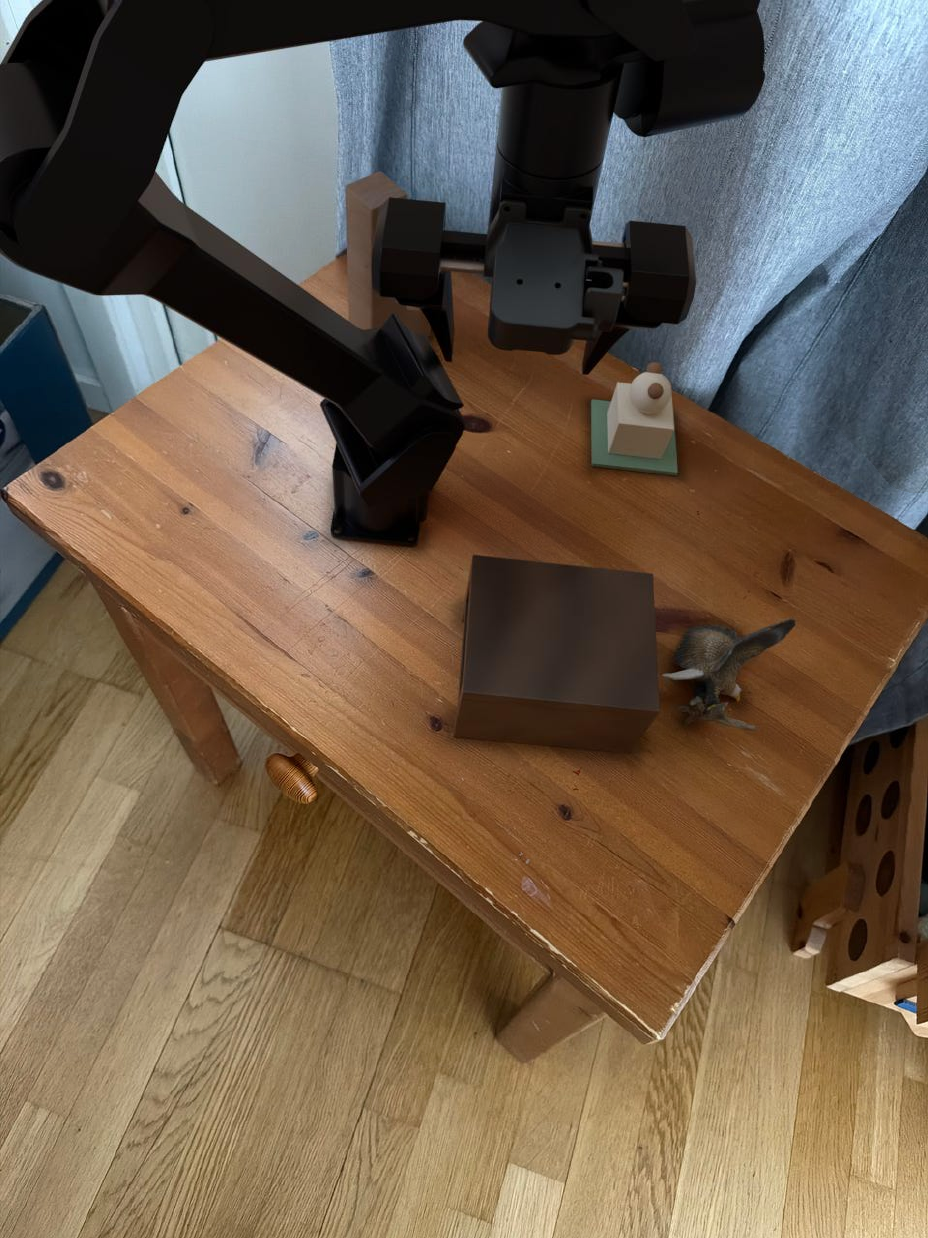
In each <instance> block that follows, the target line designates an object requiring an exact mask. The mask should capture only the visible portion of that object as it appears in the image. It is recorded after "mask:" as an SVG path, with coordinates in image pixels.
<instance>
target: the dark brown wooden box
mask: <svg viewBox="0 0 928 1238" xmlns="http://www.w3.org/2000/svg"><path fill="white" fill-rule="evenodd" d="M468 573H469V574H468V579H467V584H466V590H465V595H464V596H465V597H464V600H463V605H462V617H461V623H463V625H462V627H463V628H462V637H461V638H462V640H461V652H460V654H461V655H460V666H459V667H460V668H459V679H458V691H457V692H458V694H457V708H456V713H455V717H454V721H453V723H454V724H453V735H452V736H453V737H454V738H463V739H474V740H484V741H494V742H505V743H506V742H507V743H516V744H526V745H535V746H536V745H537V746H548V747H555V748H556V747H557V748H566V749H567V748H568V749H579V750H588V751H598V752H608V753H609V752H610V753H620V754H632V752H633V751H634V749H635V748H636V747H637V745H638V744H639V742H640V741H641V740H642V738H643V737H644V735H645V734H646V732H647V731H648V729H649V728H650V726H651V725H652V724H653V722H654V721H655V719H656V718H657V716H658V715H659V714H660V712H661V706H660V705H661V704H660V683H659V667H658V666H659V665H658V645H657V626H656V625H657V624H656V607H655V606H656V605H655V585H654V574H653V573H650V572H641V571H631V570H623V569H622V570H621V569H614V568H604V567H595V566H584V565H574V564H573V565H572V564H567V563H565V564H564V563H556V562H546V561H537V560H528V559H519V558H508V557H501V556H500V557H499V556H491V555H483V554H482V555H480V554H472V557H471V562H470V568H469V572H468Z"/></svg>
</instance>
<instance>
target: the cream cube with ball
mask: <svg viewBox="0 0 928 1238" xmlns="http://www.w3.org/2000/svg"><path fill="white" fill-rule="evenodd" d="M645 369H646V371H645V372H642V373H640V374H639V375H637V376H636V377H635V378H634V379H633V381H632V382H631V383H629V382H617V383H616V386H615V388H614V391H613V394H612V398H611V403H610V406H609V409H608V412H607V425H608V453H611V454H620V455H629V456H638V457H647V458H656V459H661V458H662V456H663V454H664V451H665V449H666V447H667V444H668V442H669V440H670V438H671V435H672V433H673V431H674V428H675V421H674V422H673V414H674V408H673V397H672V386H671V383H670V381H669V380H668V378H667V377H666V376H665V375H664V374H662V373H663V366H662V364H661V363H659V362H657V361H652V362H650V363H648V365H647V366H646V368H645Z"/></svg>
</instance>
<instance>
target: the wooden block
mask: <svg viewBox="0 0 928 1238" xmlns="http://www.w3.org/2000/svg"><path fill="white" fill-rule="evenodd" d="M344 193H345V225H346V255H347V256H346V260H347V262H346V263H347V264H346V265H347V304H348V305H347V307H348V308H347V309H348V321H349V322H350V323H352V324H353V325H355V326H356V327H358V328H360V329H362V330H365V329H374V328H381V327H382V326H383V325H384V323H385V322H386V321H387V320H388V318H389V317H390V316H391V315H392V314H396V315H397V316H398V317H399V319H400V320H401V321H402V322H403V324H404V325H405V326H406V327H407V328H408V329H410V330H411V331H413V332H415V333H419V334H424V335H426V336H427V338H429V337H430V336H431V335H432V328H431V326H430V324H429V322H428V320H427V319H426V317H425V315H424V314H423V312H422V311H421V309H419V308H416V307H412V306H403V305H400V304H399V303H398V302H397V301H396V300H395V298H392V297H381V296H379V295H378V294H377V293H376V292H375V291H374V290H373V289H372V274H371V262H372V249H373V243H374V237H375V231H376V225H377V220H378V214H379V208H380V206H381V205H382V204H383V203H384V202H385V201H386V200H387V199H388V198H389V197H392V198H403V199H408V193H407V192H406V191H405V190H404V189H402V187H400V186H399V185H398V184H396V183H395V182H394V181H393V180H392V179H391V178H389V177H388V176H387V175H386V174H385V173H384V172H383V171H376V172H374V173H372V174H369V175H366V176H364V177H362V178H359V179H357V180H355V181H352V182H351V183H348V184H347V185H345V187H344Z"/></svg>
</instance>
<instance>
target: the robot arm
mask: <svg viewBox="0 0 928 1238" xmlns="http://www.w3.org/2000/svg"><path fill="white" fill-rule="evenodd" d="M760 4H761V0H41V1H40V2H39V3H37V4H36V5H35V6H34V7H33V8H32V9H31V10H30V11H29V13H28V14H27V16H26V17H25V18H24V21H23V23H22V24H21V26H20V28H19V29H18V31H17V33H16V35H15V37H14V38H13V40H12V43H11V44H10V45H9V48H8V49H7V51H6V53H5V56H4V57H3V58H2V60H1V62H0V255H1V256H3V257H4V258H5V259H7V260H8V261H10V262H11V263H12V264H13V265H15V266H16V267H18V268H20V269H23V270H24V271H27V272H30V273H32V274H35V275H38V276H40V277H43V278H45V279H49V280H52V281H54V282H57V283H60V284H62V285H65V286H68V287H70V288H73V289H76V290H78V291H80V292H84V293H87V294H89V295H92V296H99V297H102V296H109V297H111V296H140V295H141V296H145V297H148V298H150V299H152V300H155V301H156V302H158V303H159V304H162V305H163V306H165V307H166V308H168V309H170V310H172V311H174V312H175V313H177V314H178V315H180V316H182V317H184V318H185V319H187V320H189V321H191V322H192V323H194V324H196V325H197V326H200V327H201V328H203V329H204V330H206V331H208V332H209V333H212V334H213V335H215V336H217V337H218V338H220V339H222V340H224V341H225V342H227V343H229V344H230V345H232V346H234V347H236V348H237V349H239V350H241V351H242V352H244V353H246V354H247V355H249V356H251V357H253V358H255V359H256V360H258V361H260V362H261V363H263V364H265V365H267V366H268V367H270V368H272V369H273V370H275V371H277V372H278V373H280V374H282V375H284V376H286V377H287V378H289V379H290V380H292V381H294V382H296V383H298V384H299V385H301V386H302V387H304V388H306V389H308V390H310V391H311V392H313V393H315V394H316V395H318V396H320V397H322V398H323V399H322V400H321V401H320V402H319V407H320V409H321V411H322V414H323V416H324V419H325V420H326V422H327V425H328V427H329V429H330V432H331V434H332V436H333V438H334V441H335V448H334V454H333V460H332V465H331V471H332V472H331V473H332V486H333V487H332V488H333V491H332V492H333V505H334V506H333V513H332V518H331V524H330V536H331V537H332V538H334V539H337V540H338V539H339V540H347V541H356V542H365V543H375V544H382V545H383V544H385V545H395V546H402V547H403V546H404V547H415V546H417V545H418V542H419V535H420V525H421V523H425V522H426V521H427V517H428V508H429V501H430V500H429V499H430V493H431V492H432V491H433V489H435V486H436V484H437V483H438V480H439V479H440V478H441V475H442V474H443V472H444V471H445V469H446V467H447V465H448V463H449V461H450V460H451V458H452V455H453V454H454V453H455V450H456V448H457V445H458V443H459V442H460V440H461V438H462V437H463V436H464V431H465V430H466V429H467V423H466V420H465V418H464V416H463V414H462V412H461V410H460V409H463V408H464V406H465V404H464V403H463V400H462V398H461V396H460V395H459V393H458V391H457V389H456V388H455V385H454V383H453V382H452V380H451V378H450V376H449V375H448V373H447V371H446V369H445V368H444V365H443V363H442V362H441V359H440V358H439V356H438V354H437V352H436V351H435V349H434V347H433V344H432V343H431V341H430V340H429V339H430V338H429V337H427V336H426V335H424V334H419V333H415V332H413V331H411V330H410V329H408V328H407V327H406V326H405V325H404V324H403V322H402V321H401V320H400V319H399V317H398V316H397V315H396V314H392V315H391V316H390V317H389V318H388V320H387V321H386V322H385V323H384V325H383V326H382V327H381V328H374V329H365V330H362V329H360V328H358V327H356V326H355V325H353V324H352V323H350V322H349V319H347V318H345V317H344V316H342V315H341V314H339V312H336V311H335V310H334V309H332V308H331V307H329V306H328V305H327V304H326V303H324V302H323V301H321V299H319V298H316V296H314V295H313V294H311V293H310V292H308V291H307V290H306V289H305V288H303V287H301V286H300V285H299V284H298V283H296V282H294V280H292V279H290V278H289V277H288V276H287V275H285V274H283V273H282V272H281V271H279V269H276V268H275V267H273V266H272V265H270V263H268V262H266V261H265V260H264V259H262V258H260V257H259V256H258V255H256V254H255V253H254V252H252V251H251V250H250V249H248V248H247V247H246V246H244V245H242V244H241V243H240V242H238V241H237V240H235V239H234V238H233V237H231V236H230V235H229V234H228V233H225V232H224V231H223V230H222V229H220V228H219V227H217V226H216V225H214V224H213V223H212V222H210V221H209V220H208V219H206V218H205V217H204V216H203V215H200V214H199V213H197V212H196V211H195V210H194V209H192V208H190V206H188V205H186V203H184V202H183V201H181V200H180V199H179V198H178V197H177V196H176V195H175V193H174V192H173V191H172V190H171V189H170V187H169V185H167V184H166V182H165V181H164V180H163V178H162V177H161V176H160V175H159V174H158V173H157V168H158V165H159V162H160V160H161V156H162V153H163V150H164V148H165V145H166V143H167V139H168V136H169V133H170V131H171V128H172V125H173V122H174V119H175V117H176V113H177V111H178V108H179V105H180V104H181V103H180V102H181V99H182V97H183V95H184V93H185V92H186V91H187V89H188V88H189V86H190V84H191V83H192V81H193V80H194V79H195V77H196V76H197V74H198V72H199V71H200V70H201V68H202V66H203V65H204V64H205V63H207V62H211V61H217V60H224V59H230V58H236V57H243V56H249V55H254V54H261V53H266V52H273V51H279V50H284V49H285V50H286V49H291V48H297V47H303V46H309V45H315V44H322V43H327V42H334V41H339V40H347V39H352V38H357V37H364V36H371V35H376V34H377V35H378V34H382V33H387V32H388V33H389V32H394V31H400V30H406V29H413V28H419V27H425V26H429V25H430V26H432V25H437V24H443V23H449V22H456V21H468V22H469V21H470V22H478V23H477V24H476V25H475V26H474V27H473V28H472V29H471V30H470V31H469V32H468V33H467V34H465V36H464V38H463V42H462V46H463V49H464V50H465V51H466V53H467V54H468V56H469V57H470V58H471V60H472V62H474V64H475V66H476V67H477V68H478V70H479V71H480V73H481V74H482V75H483V77H484V78H485V79H486V81H487V82H488V84H489V85H490V87H491V88H493V89H496V90H497V89H501V95H500V104H499V105H500V106H499V116H498V124H497V125H498V126H497V135H496V144H495V153H494V154H495V155H494V164H493V165H494V166H493V174H492V183H491V184H492V185H491V195H490V206H489V207H490V208H489V215H488V225H487V230H486V231H487V233H479V232H469V231H459V230H449V229H445V227H446V218H447V202H444V201H434V200H433V201H432V200H421V199H412V198H407V199H403V198H392V197H389V198H388V199H387V200H386V201H385V202H384V203H383V204H382V205H381V206H380V208H379V214H378V220H377V225H376V231H375V237H374V243H373V249H372V262H371V274H372V289H373V290H374V291H375V292H376V293H377V294H378V295H379V296H381V297H392V298H395V300H396V301H397V302H398V303H399V304H400V305H403V306H412V307H416V308H419V309H421V311H422V312H423V314H424V315H425V317H426V319H427V320H428V322H429V324H430V326H431V331H432V332H433V335H434V338H435V340H436V342H437V344H438V347H439V349H440V352H441V354H442V357H443V359H444V361H445V362H446V363H452V362H453V355H454V342H455V341H454V340H455V316H454V314H455V313H454V299H453V298H454V297H453V281H452V279H453V278H452V272H453V273H454V272H455V273H464V274H465V273H466V274H475V275H476V274H477V275H482V276H483V277H484V278H485V277H486V278H492V279H491V280H492V281H491V289H490V299H489V300H490V301H489V311H488V312H489V313H488V325H487V337H488V340H489V342H490V344H491V345H492V346H493V347H494V348H496V349H498V350H501V351H506V352H507V351H509V352H513V351H526V352H536V353H544V354H546V355H550V356H560V355H564V354H566V353H568V352H569V351H570V349H571V348H572V347H573V344H574V341H575V340H576V341H585V346H584V350H583V351H584V352H583V356H582V362H581V374H582V375H583V376H588V375H590V374H591V372H592V371H593V370H594V369H595V368H596V367H597V365H598V364H599V363H600V362H601V360H602V359H603V358H604V357H605V356H606V355H607V354H608V352H609V351H610V350H611V349H612V347H613V346H614V345H615V344H617V342H618V341H619V340H620V339H621V338H623V337H624V336H625V334H627V333H628V332H629V331H630V330H633V329H647V330H654V329H657V328H659V327H660V326H661V325H662V324H666V325H667V324H669V325H679V324H680V323H682V322H684V321H685V320H686V319H687V318H688V315H689V313H690V310H691V306H692V305H693V301H694V299H695V293H696V287H697V274H696V263H695V252H694V242H693V236H692V234H691V233H690V231H689V230H688V228H687V225H680V224H672V223H671V224H670V223H660V222H649V221H640V220H628V221H627V222H626V223H625V226H624V230H623V233H622V238H621V243H620V242H612V241H601V240H593V236H592V235H593V234H592V230H591V229H592V228H591V221H592V216H593V211H594V207H595V202H596V197H597V193H598V187H599V183H600V179H601V174H602V169H603V164H604V159H605V155H606V150H607V145H608V142H609V135H610V132H611V128H612V127H611V126H612V122H613V117H614V115H615V116H616V117H617V118H618V119H621V120H623V121H624V123H625V125H626V127H627V129H629V131H630V132H632V133H633V134H634V135H636V136H637V137H640V138H649V137H654V136H658V135H662V134H667V133H672V132H677V131H682V130H686V129H691V128H697V127H701V126H705V125H710V124H715V123H719V122H725V121H729V120H734V119H738V118H741V117H743V116H744V115H745V114H746V113H748V112H749V111H750V110H751V108H752V107H753V106H754V105H755V103H756V102H757V100H758V98H759V96H760V93H761V92H762V88H763V86H764V82H765V79H766V72H765V70H764V68H765V67H764V66H765V53H766V51H765V49H766V48H765V47H766V45H765V36H764V29H763V25H762V21H761V17H760V14H759V12H758V11H759V7H760ZM336 531H338V532H336ZM410 539H412V540H410Z"/></svg>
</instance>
